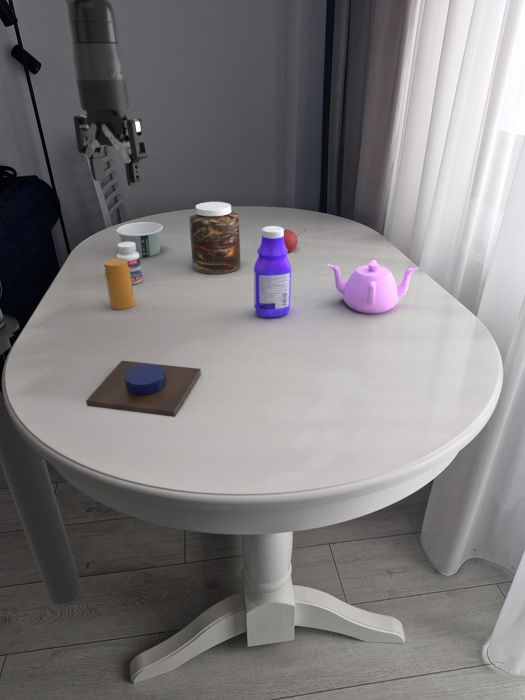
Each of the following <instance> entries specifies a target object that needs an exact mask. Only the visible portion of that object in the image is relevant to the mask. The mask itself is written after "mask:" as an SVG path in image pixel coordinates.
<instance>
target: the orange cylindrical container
mask: <svg viewBox="0 0 525 700" xmlns="http://www.w3.org/2000/svg"><path fill="white" fill-rule="evenodd" d="M103 267H104V270H103V271H104V277H105V282H106V288H107V293H108V299H109V305H110V308H111V309H113V310H115V311H116V310H117V311H121V310H129V309H131V308H133V307H134V306H135V305H136V303H135V296H134V295H135V294H134V288H133V284H132V281H131V275H130V268H129V267H128V262H127V260H126V259H124V258H116V257H115V258H114V257H113V258H109V259H106V260H105V261H104V262H103Z"/></svg>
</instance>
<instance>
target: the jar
mask: <svg viewBox="0 0 525 700" xmlns="http://www.w3.org/2000/svg"><path fill="white" fill-rule="evenodd" d="M189 234H190V235H189V236H190V248H191V249H190V250H191V260H192V261H191V262H192V268H193V270H195V271H197V272H200V273H202V274H208V275H223V274H229V273H232V272H236V271H237V270H239V269H240V268H241V236H240V221H239V215H238V213H237V212H235V211H232V204H231V203H228V202H223V201H206V202H201V203H198V204H196V205H195V211H194V212H193V213H191V214H190V215H189Z"/></svg>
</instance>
